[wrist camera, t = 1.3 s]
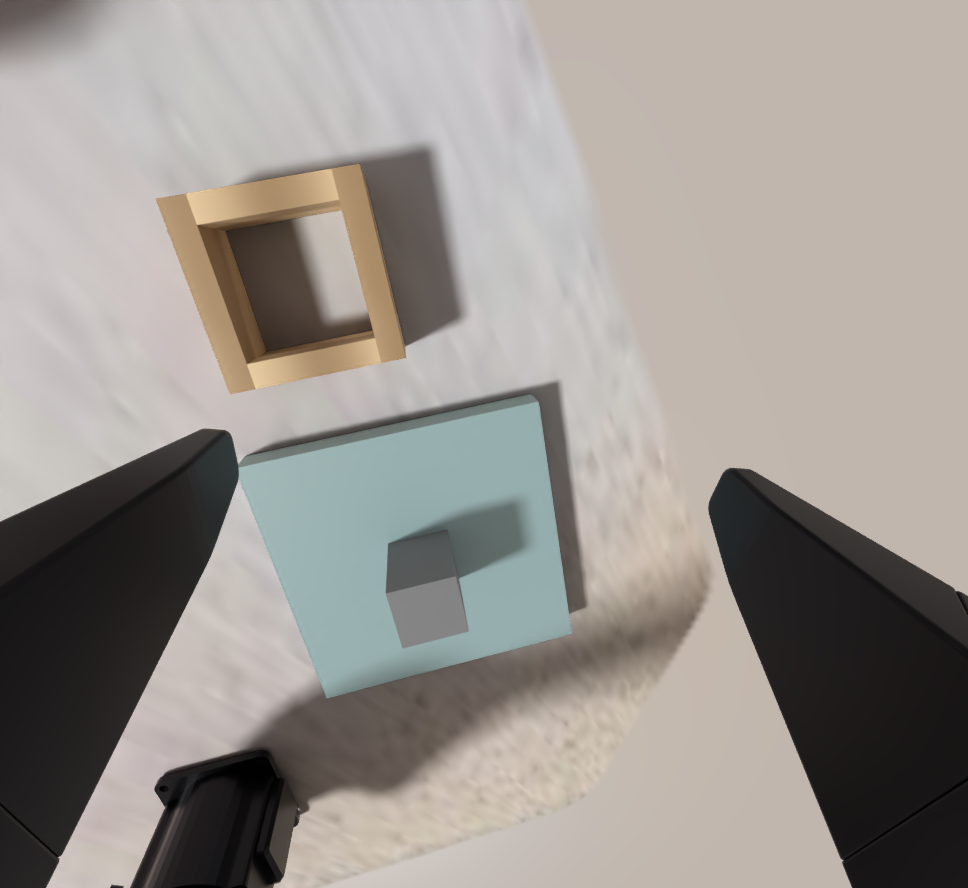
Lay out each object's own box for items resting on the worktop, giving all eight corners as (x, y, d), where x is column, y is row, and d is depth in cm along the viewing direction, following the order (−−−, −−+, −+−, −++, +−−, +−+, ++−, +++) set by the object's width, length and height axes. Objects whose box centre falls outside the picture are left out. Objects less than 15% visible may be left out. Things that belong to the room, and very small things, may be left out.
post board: (330, 677, 28) (314, 767, 23) (245, 456, 23) (200, 510, 18) (563, 616, 29) (597, 690, 24) (530, 393, 24) (565, 427, 19)
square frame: (251, 378, 22) (229, 394, 19) (190, 208, 20) (155, 198, 17) (405, 346, 23) (405, 357, 20) (365, 177, 20) (359, 163, 17)
